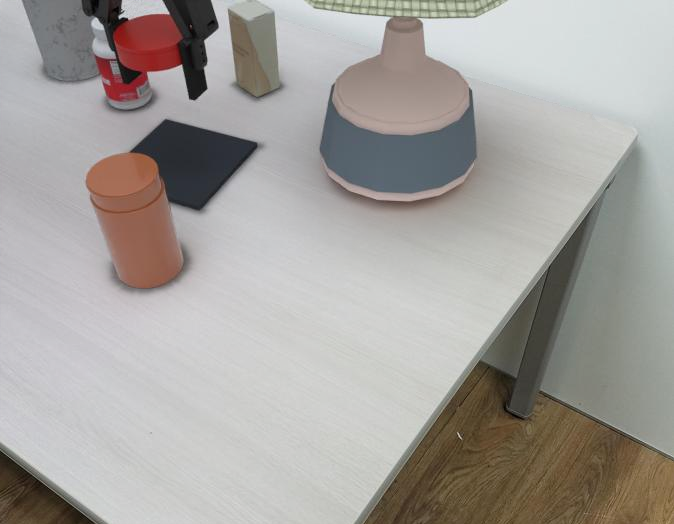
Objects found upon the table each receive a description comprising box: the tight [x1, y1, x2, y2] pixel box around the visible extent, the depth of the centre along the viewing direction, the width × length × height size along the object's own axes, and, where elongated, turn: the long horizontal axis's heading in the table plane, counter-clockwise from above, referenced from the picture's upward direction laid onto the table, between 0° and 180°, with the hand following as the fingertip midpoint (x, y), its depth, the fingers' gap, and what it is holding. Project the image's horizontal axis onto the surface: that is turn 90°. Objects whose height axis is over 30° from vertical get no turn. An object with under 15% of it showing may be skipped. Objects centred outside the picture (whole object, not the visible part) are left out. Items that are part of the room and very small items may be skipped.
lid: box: [113, 13, 191, 73], centre depth 76 cm, size 8×8×2 cm
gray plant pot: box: [21, 0, 100, 82], centre depth 100 cm, size 10×10×12 cm
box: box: [226, 0, 281, 98], centre depth 95 cm, size 5×4×11 cm
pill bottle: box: [91, 13, 153, 110], centre depth 94 cm, size 6×6×11 cm
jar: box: [84, 152, 185, 289], centre depth 71 cm, size 7×7×12 cm
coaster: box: [128, 118, 258, 211], centre depth 88 cm, size 14×14×1 cm
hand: (165, 86), depth 80 cm, fingers closed on lid, 8 cm apart
